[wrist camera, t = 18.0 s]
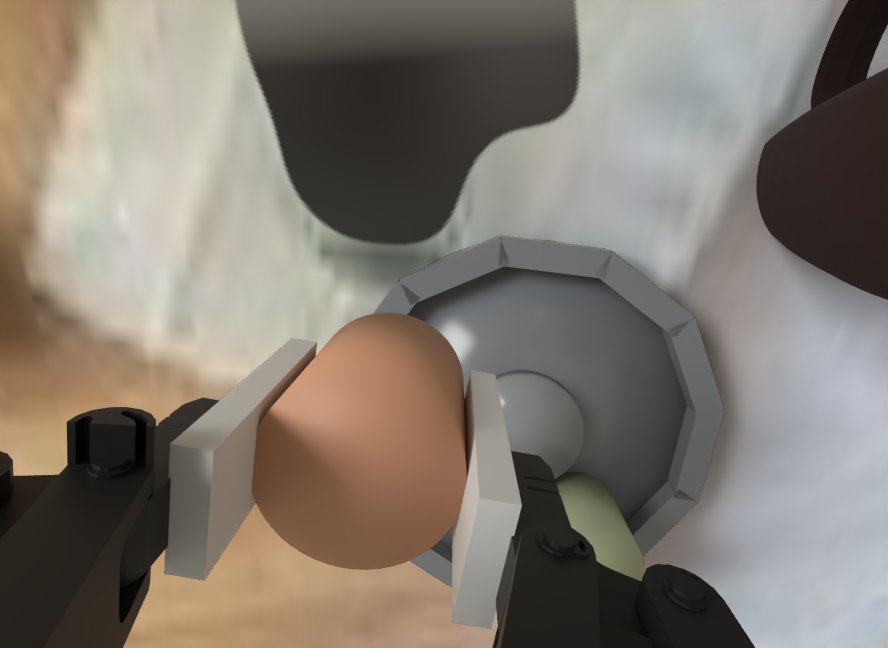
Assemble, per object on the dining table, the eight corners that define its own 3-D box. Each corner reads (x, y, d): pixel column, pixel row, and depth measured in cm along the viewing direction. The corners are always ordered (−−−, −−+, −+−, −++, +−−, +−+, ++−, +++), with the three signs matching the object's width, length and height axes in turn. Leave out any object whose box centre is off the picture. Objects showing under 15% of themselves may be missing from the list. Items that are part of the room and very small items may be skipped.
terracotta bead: (396, 281, 15) (363, 328, 10) (494, 393, 16) (511, 491, 11) (286, 374, 16) (202, 463, 11) (384, 476, 17) (351, 604, 12)
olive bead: (523, 487, 31) (537, 547, 26) (597, 460, 30) (627, 516, 25) (550, 548, 32) (569, 618, 27) (622, 524, 31) (655, 590, 26)
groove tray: (280, 325, 30) (266, 335, 28) (635, 175, 27) (650, 173, 25) (426, 608, 35) (424, 635, 33) (740, 503, 32) (760, 525, 30)
